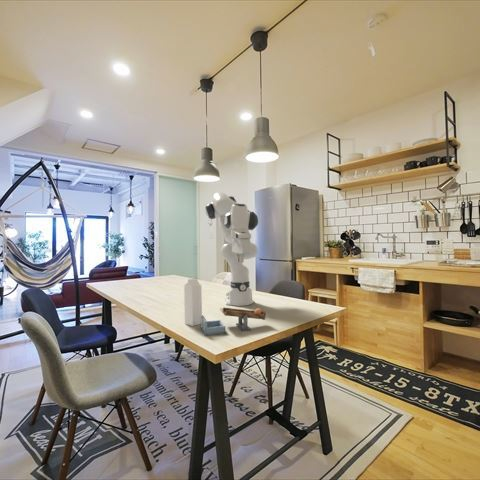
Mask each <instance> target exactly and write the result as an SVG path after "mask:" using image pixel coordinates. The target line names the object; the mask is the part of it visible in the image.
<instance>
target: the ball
mask: <svg viewBox="0 0 480 480" xmlns="http://www.w3.org/2000/svg"><path fill="white" fill-rule="evenodd" d="M261 310H262V309H261V308H255V309H254V310H253V311H254V313H258V314H261V313H262V311H261Z"/></svg>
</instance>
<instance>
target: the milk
mask: <svg viewBox="0 0 480 480" xmlns="http://www.w3.org/2000/svg"><path fill="white" fill-rule="evenodd" d="M183 293H184V297H183V298H184V324H185V325H187V326H191V327H193V326H194V327H195V326H197V325H201V316H202V315H203V311H202V310H203V307H202V303H203V302H202V301H203V298H202V284H201V283H200V282H199V280H198V278H197V277H196V278H195V277H194V278H188V279H187V283H185V284H184V286H183Z"/></svg>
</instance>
